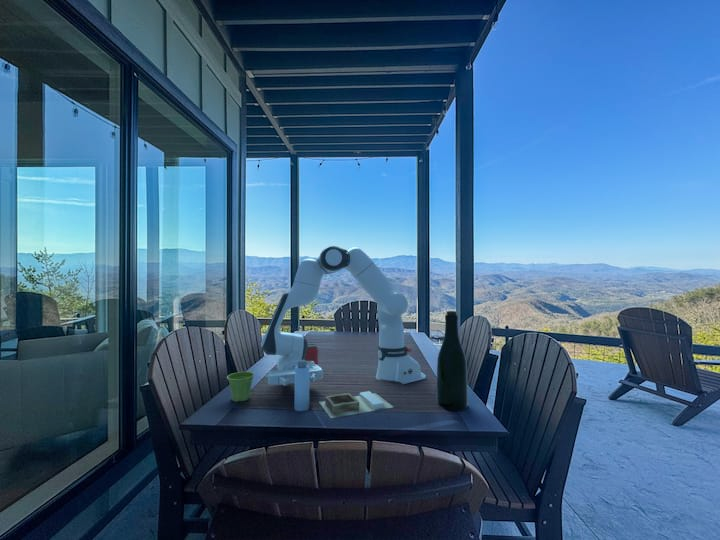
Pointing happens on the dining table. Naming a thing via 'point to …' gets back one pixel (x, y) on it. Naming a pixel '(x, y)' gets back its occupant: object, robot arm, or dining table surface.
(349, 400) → the jig
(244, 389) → the plant pot
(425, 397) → the dining table surface
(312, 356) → the beer can
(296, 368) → the tapered blue cylinder
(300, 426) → the dining table surface
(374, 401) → the white rectangular bar
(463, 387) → the green wine bottle
